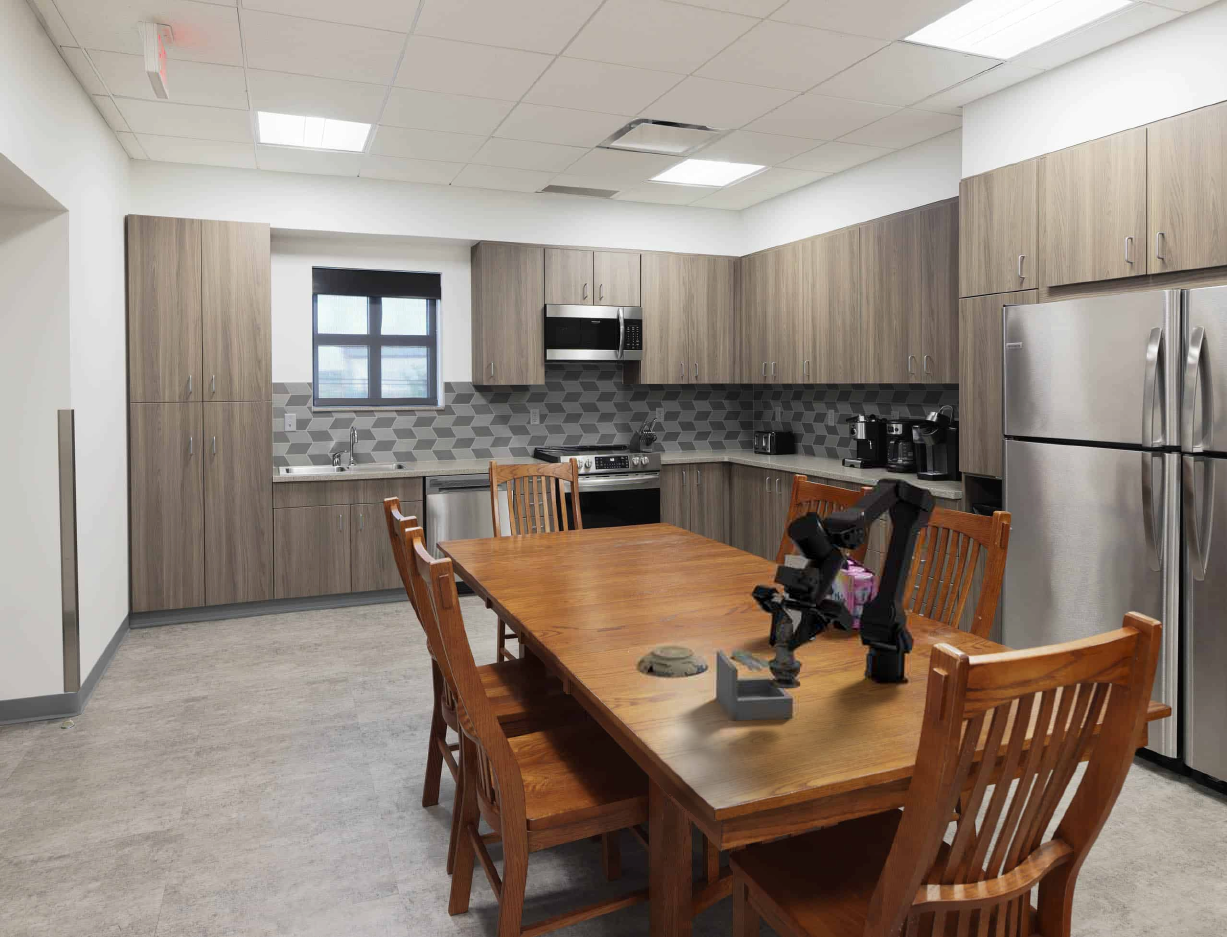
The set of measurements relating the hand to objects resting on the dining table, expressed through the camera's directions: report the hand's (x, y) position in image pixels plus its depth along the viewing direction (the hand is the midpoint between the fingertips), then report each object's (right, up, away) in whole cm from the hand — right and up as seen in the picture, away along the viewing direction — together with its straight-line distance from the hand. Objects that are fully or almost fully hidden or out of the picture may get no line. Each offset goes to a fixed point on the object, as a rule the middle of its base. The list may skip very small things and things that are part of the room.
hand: (779, 647), depth 142 cm
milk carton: (+15, -9, +53) cm, 56 cm away
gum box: (+32, -8, +70) cm, 77 cm away
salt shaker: (+1, -7, +1) cm, 7 cm away
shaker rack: (-3, -13, +8) cm, 15 cm away
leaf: (+2, -11, +29) cm, 31 cm away
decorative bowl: (-16, -11, +32) cm, 37 cm away
